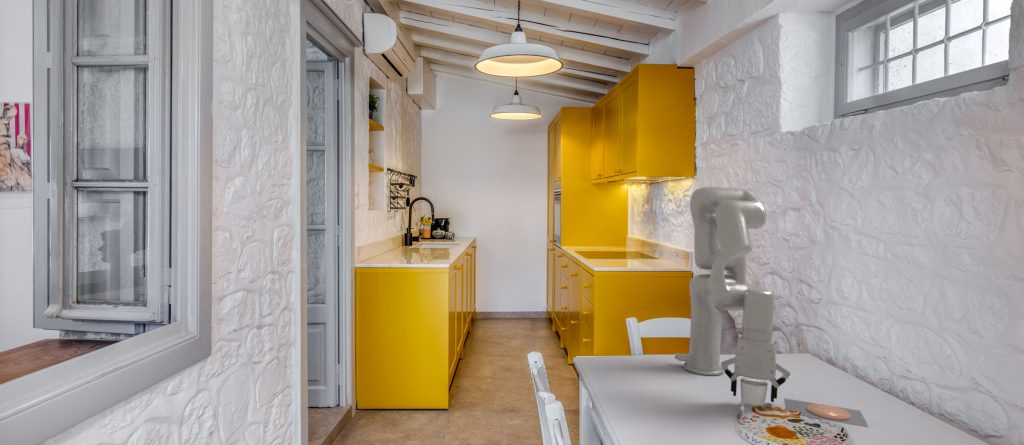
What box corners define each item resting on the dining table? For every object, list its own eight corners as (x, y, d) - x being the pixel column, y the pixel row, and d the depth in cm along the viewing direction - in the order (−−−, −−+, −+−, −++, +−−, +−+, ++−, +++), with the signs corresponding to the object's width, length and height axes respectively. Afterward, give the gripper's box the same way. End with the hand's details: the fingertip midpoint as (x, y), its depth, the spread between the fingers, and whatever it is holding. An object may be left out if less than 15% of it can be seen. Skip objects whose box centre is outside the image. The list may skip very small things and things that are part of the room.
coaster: (808, 415, 141) (808, 413, 141) (804, 402, 150) (805, 401, 150) (853, 423, 137) (853, 421, 137) (847, 409, 146) (847, 408, 146)
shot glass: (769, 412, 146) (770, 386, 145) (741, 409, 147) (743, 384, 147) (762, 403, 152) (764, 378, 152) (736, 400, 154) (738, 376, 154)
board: (786, 418, 142) (786, 413, 142) (784, 403, 153) (784, 398, 153) (868, 433, 135) (868, 427, 135) (859, 416, 146) (860, 410, 146)
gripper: (721, 333, 149) (718, 396, 150) (793, 342, 142) (789, 408, 143) (723, 327, 156) (720, 388, 157) (791, 336, 149) (788, 398, 150)
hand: (753, 397), depth 150 cm, fingers open, 9 cm apart
